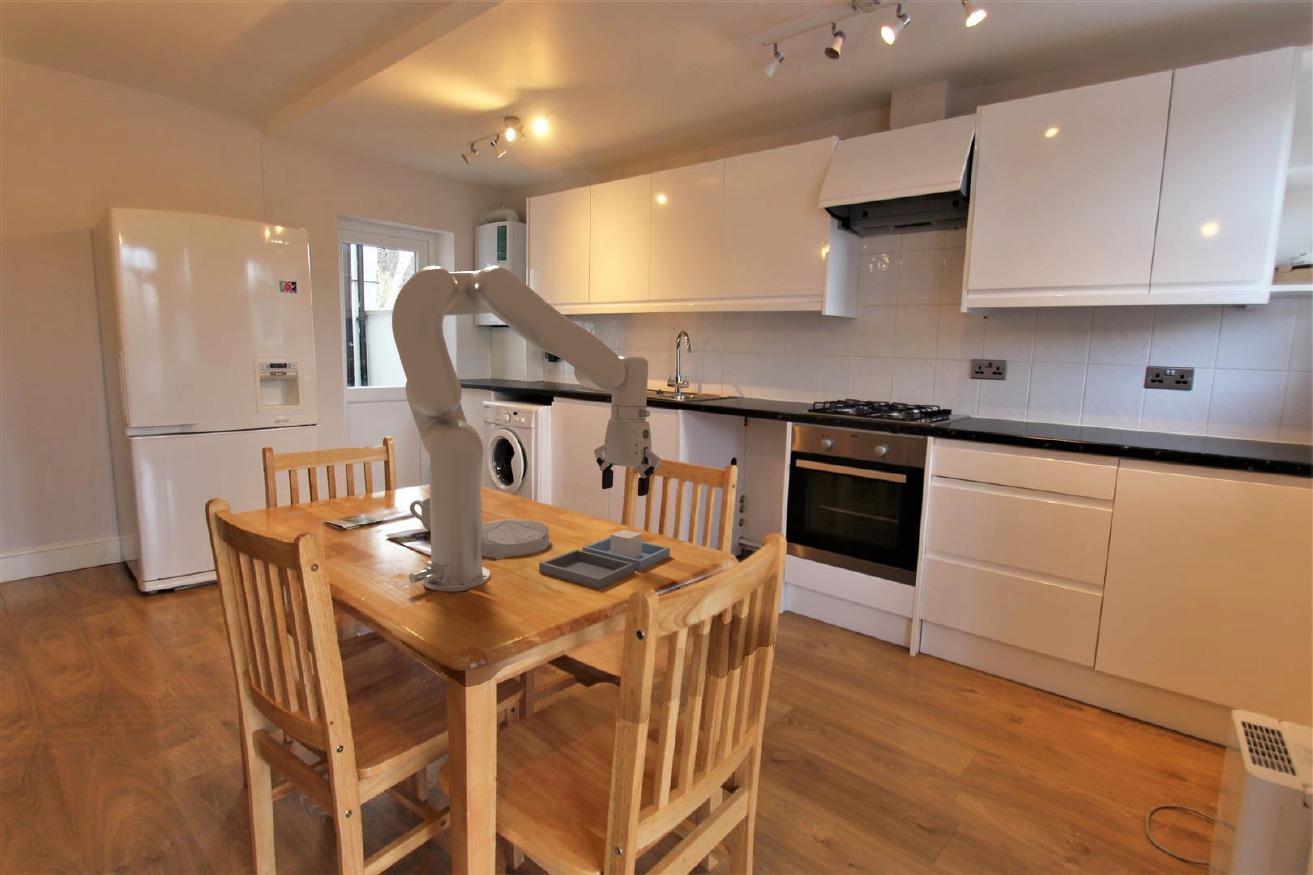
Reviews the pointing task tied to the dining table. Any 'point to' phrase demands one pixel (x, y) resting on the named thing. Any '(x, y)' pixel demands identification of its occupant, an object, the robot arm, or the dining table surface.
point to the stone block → (626, 543)
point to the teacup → (425, 512)
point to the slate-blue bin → (648, 557)
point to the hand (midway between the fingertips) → (624, 491)
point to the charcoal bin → (587, 568)
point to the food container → (513, 538)
